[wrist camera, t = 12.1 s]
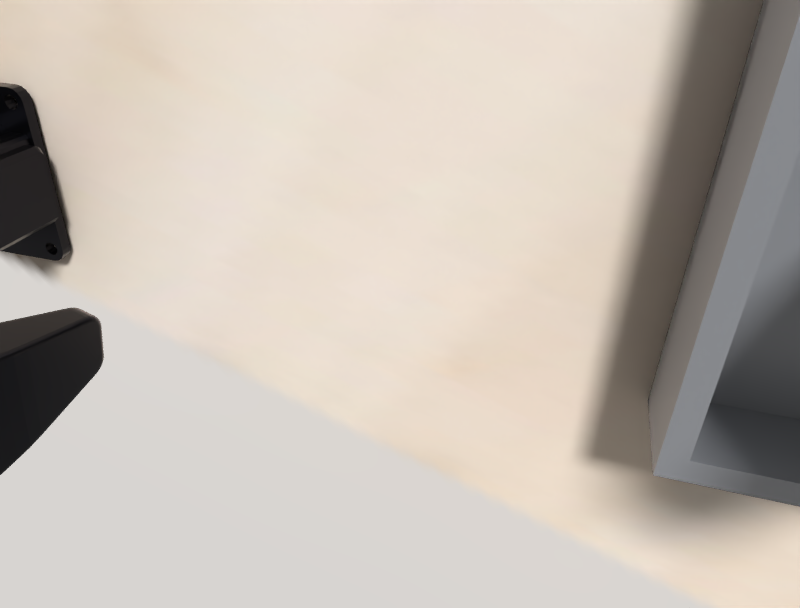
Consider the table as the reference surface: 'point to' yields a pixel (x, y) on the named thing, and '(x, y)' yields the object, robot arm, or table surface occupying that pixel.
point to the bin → (742, 295)
